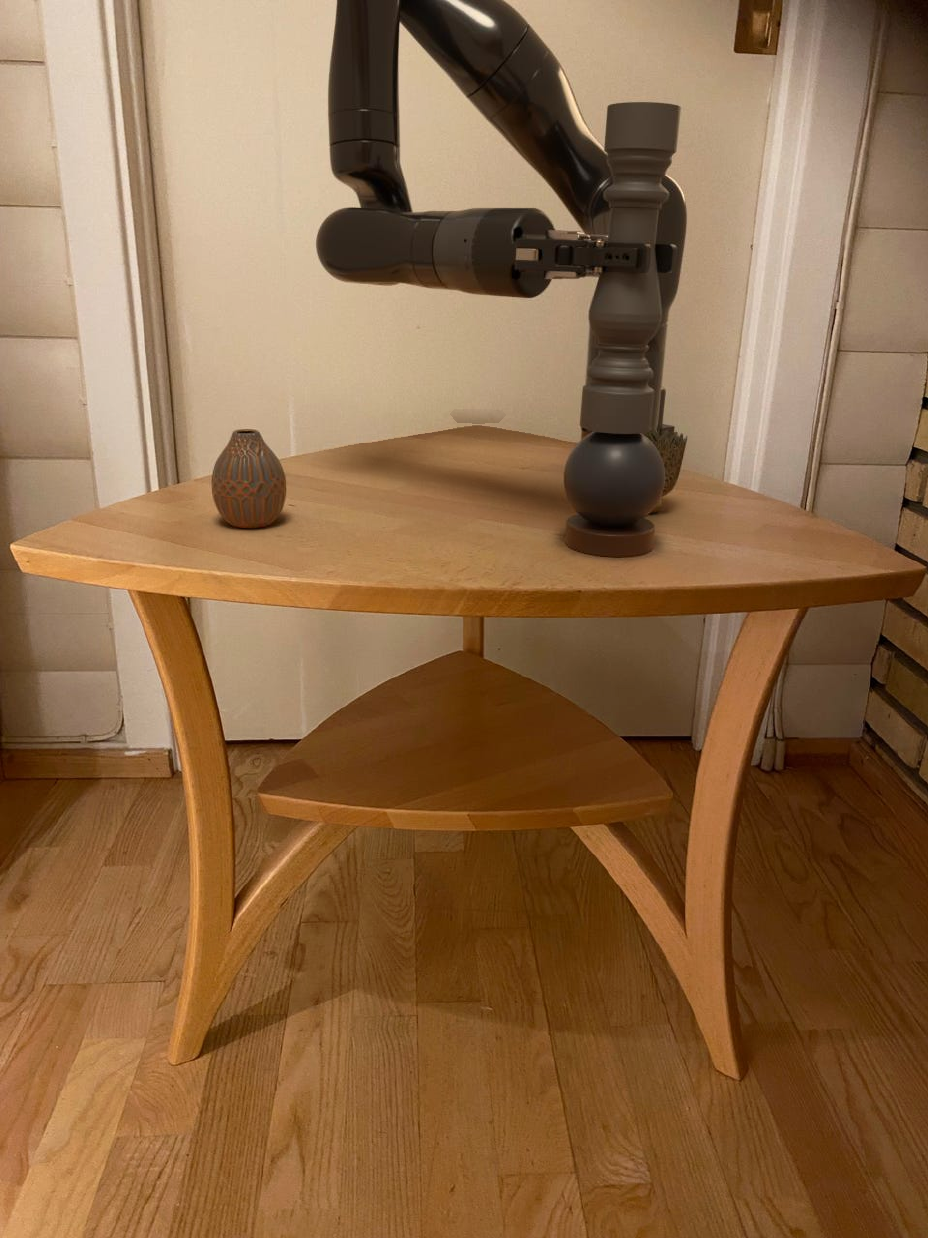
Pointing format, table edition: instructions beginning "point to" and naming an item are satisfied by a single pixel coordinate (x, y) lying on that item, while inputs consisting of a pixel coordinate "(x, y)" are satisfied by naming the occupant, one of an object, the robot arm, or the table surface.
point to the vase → (248, 481)
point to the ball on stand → (613, 494)
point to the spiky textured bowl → (668, 457)
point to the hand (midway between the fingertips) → (660, 258)
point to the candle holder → (628, 299)
